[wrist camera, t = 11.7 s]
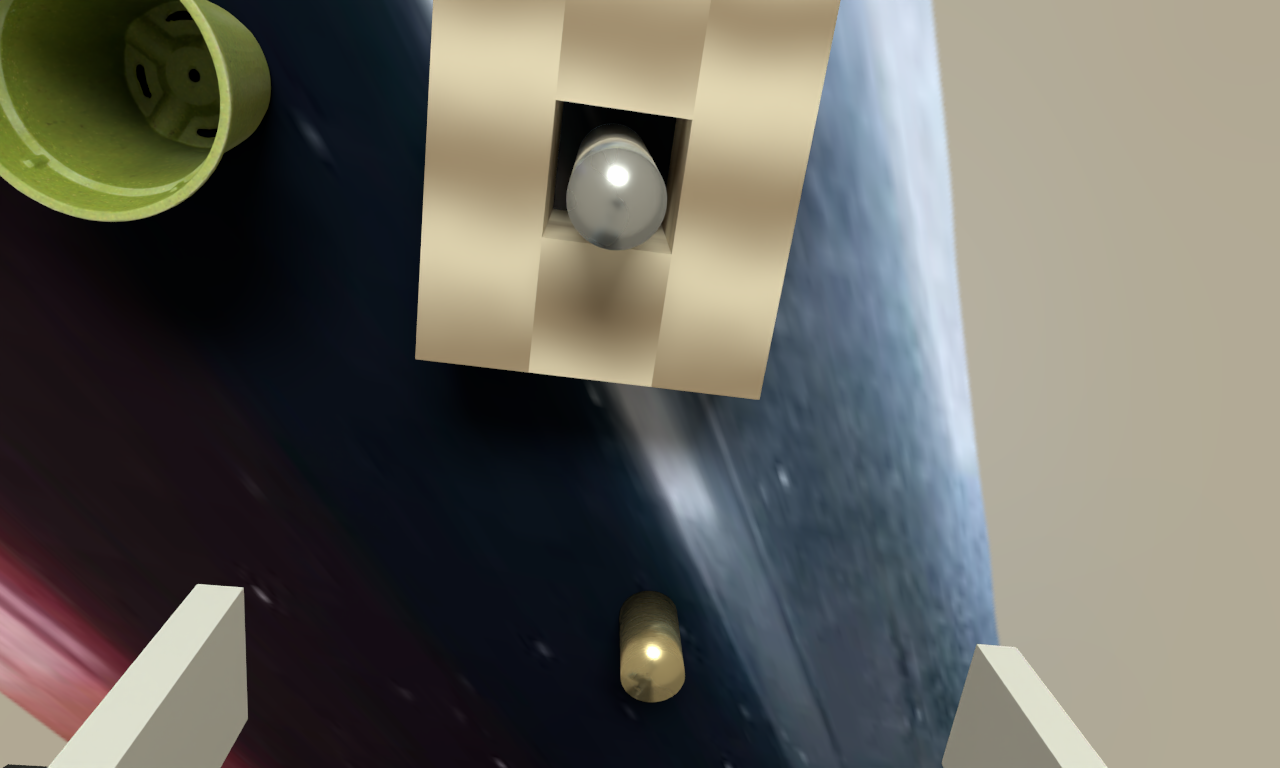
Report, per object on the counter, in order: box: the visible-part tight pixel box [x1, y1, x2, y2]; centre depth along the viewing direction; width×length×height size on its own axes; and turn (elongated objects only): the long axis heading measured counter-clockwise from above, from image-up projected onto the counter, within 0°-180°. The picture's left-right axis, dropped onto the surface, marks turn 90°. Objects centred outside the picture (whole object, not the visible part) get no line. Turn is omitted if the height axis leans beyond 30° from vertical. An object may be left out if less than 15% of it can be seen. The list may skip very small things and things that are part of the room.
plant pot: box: [0, 0, 271, 222], centre depth 32 cm, size 9×9×9 cm
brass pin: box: [619, 591, 685, 702], centre depth 44 cm, size 3×3×5 cm
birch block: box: [415, 0, 840, 400], centre depth 35 cm, size 16×14×7 cm
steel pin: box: [566, 123, 667, 250], centre depth 32 cm, size 3×3×12 cm
